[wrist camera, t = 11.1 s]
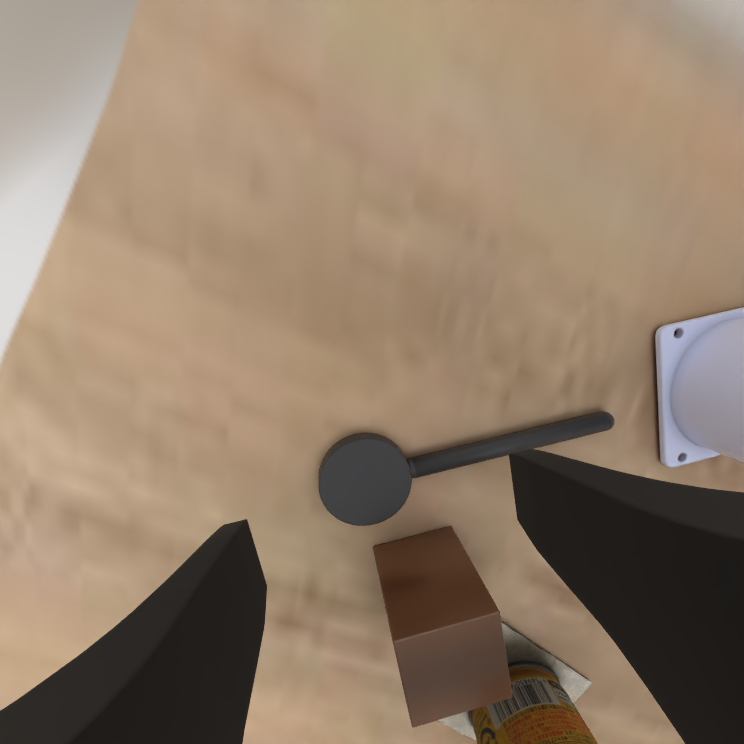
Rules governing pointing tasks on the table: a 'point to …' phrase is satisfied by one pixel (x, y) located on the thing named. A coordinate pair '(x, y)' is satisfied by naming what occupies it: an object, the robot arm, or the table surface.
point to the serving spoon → (419, 466)
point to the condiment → (530, 702)
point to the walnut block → (442, 627)
